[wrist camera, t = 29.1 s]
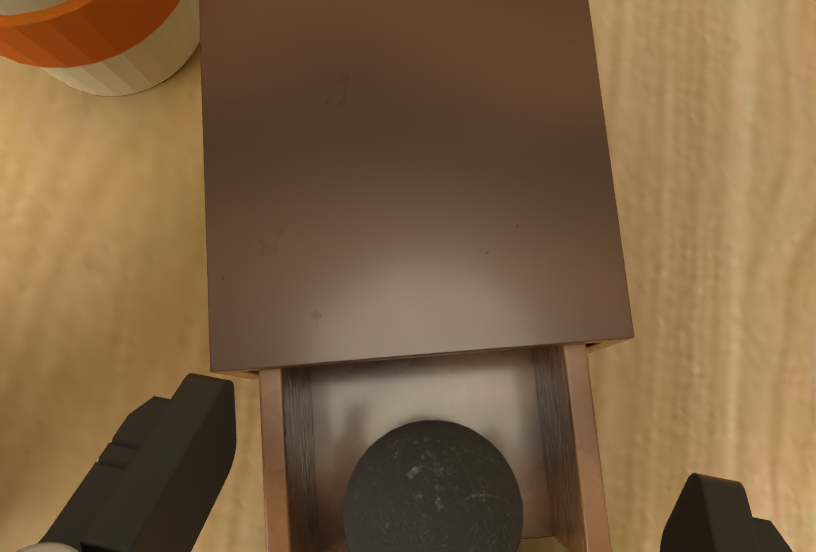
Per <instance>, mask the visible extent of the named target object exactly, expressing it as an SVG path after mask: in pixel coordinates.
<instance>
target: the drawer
mask: <svg viewBox="0 0 816 552" xmlns="http://www.w3.org/2000/svg"><path fill="white" fill-rule="evenodd" d="M259 389H260V412H261V436H262V459H263V482H264V506H265V529H266V552H351V551H350V549H349V546H348V543H347V540H346V534H345V530H344V522H343V511H344V499H345V494H346V489H347V486H348V481H349V479H350V477H351V474H352V472H353V470H354V468H355V466H356V464H357V463H358V461H359V459H360V458H361V456H362V455H363V454H364V453H365V451H366V450H367V449H368V448H369V447H370V446H371V445H372V444H373V443H374V442H375V441H376V440H378V439H379V438H380V437H382V436H383V435H385V434H386V433H388V432H389V431H391V430H393V429H395V428H398V427H400V426H403V425H405V424H407V423H412V422H417V421H422V420H443V421H449V422H454V423H457V424H460V425H463V426H465V427H468V428H470V429H472V430H474V431H476V432H477V433H479V434H480V435H482V436H483V437H485V438H486V439H488V440H489V441H490V442H491V443H492V444H493V445H494V446H495V447H496V448H497V449H498V450H499V451H500V452H501V453H502V455H503V456H504V458H505V459H506V461H507V462H508V464H509V466H510V467H511V469H512V471H513V473H514V476H515V478H516V480H517V483H518V485H519V489H520V494H521V498H522V501H523V528H522V534H521V539H529V538H541V537H554V538H555V539H557V540H558V541H559V542H560V543H561V544H562V545H563V546H564V547H565V548H566V549H567V550H568V551H569V552H612V550H611V542H610V534H609V526H608V518H607V510H606V502H605V494H604V486H603V478H602V470H601V462H600V454H599V445H598V437H597V429H596V421H595V413H594V405H593V397H592V389H591V381H590V373H589V365H588V357H587V349H586V344H575V345H563V346H551V347H538V348H526V349H514V350H502V351H489V352H477V353H465V354H453V355H440V356H428V357H416V358H404V359H391V360H379V361H367V362H355V363H342V364H330V365H318V366H306V367H293V368H281V369H269V370H259Z"/></svg>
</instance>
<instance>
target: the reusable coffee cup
mask: <svg viewBox="0 0 816 552" xmlns="http://www.w3.org/2000/svg"><path fill="white" fill-rule="evenodd" d="M199 42H200V20H199V0H0V55H2V56H4V57H6V58H9V59H11V60H14V61H16V62H18V63H23V64H28V65H33V66H37V67H38V68H40V69H42V70H43V71H45V72H46V73H48V74H50V75H51V76H53V77H55V78H56V79H58V80H60V81H61V82H63V83H64V84H66V85H68V86H70V87H72V88H75V89H77V90H79V91H82V92H85V93H89V94H94V95H99V96H122V95H128V94H133V93H138V92H141V91H143V90H146V89H149V88H151V87H154V86H156V85H157V84H159V83H161V82H163V81H164V80H166V79H168V78H169V77H171V76H172V75H173V74H174V73H175V72H176V71H178V70H179V69H180V68H181V67H182V66H183V65H184V64H185V63H186V61H187V60H188V59H189V58H190V56H191V55H192V54H193V53H194V51H195V49H196V47H197V45H198V43H199Z"/></svg>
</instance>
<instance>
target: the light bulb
mask: <svg viewBox="0 0 816 552" xmlns="http://www.w3.org/2000/svg"><path fill="white" fill-rule="evenodd" d="M343 522H344V530H345V534H346V540H347V543H348V546H349V549H350V551H351V552H516V551H517V549H518V546H519V543H520V540H521V534H522V528H523V501H522V498H521V494H520V489H519V485H518V483H517V480H516V478H515V476H514V473H513V471H512V469H511V467H510V466H509V464H508V462H507V461H506V459H505V458H504V456H503V455H502V453H501V452H500V451H499V450H498V449H497V448H496V447H495V446H494V445H493V444H492V443H491V442H490V441H489V440H488V439H486V438H485V437H483V436H482V435H480V434H479V433H477V432H476V431H474V430H472V429H470V428H468V427H465V426H463V425H460V424H457V423H454V422H449V421H443V420H422V421H417V422H412V423H407V424H405V425H403V426H400V427H398V428H395V429H393V430H391V431H389V432H388V433H386V434H385V435H383V436H382V437H380V438H379V439H378V440H376V441H375V442H374V443H373V444H372V445H371V446H370V447H369V448H368V449H367V450H366V451H365V453H364V454H363V455H362V456H361V458H360V459H359V461H358V463H357V464H356V466H355V468H354V470H353V472H352V474H351V477H350V479H349V481H348V486H347V489H346V494H345V499H344V511H343Z"/></svg>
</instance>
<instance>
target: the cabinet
mask: <svg viewBox="0 0 816 552" xmlns="http://www.w3.org/2000/svg"><path fill="white" fill-rule="evenodd" d="M199 20H200V52H201V84H202V117H203V149H204V181H205V214H206V246H207V278H208V311H209V343H210V371H211V372H212V373H217V374H224V375H230V376H236V377H242V378H247V379H253V380H259V370H269V369H281V368H293V367H306V366H318V365H330V364H342V363H355V362H367V361H379V360H391V359H404V358H416V357H428V356H440V355H453V354H465V353H477V352H489V351H502V350H514V349H526V348H538V347H551V346H563V345H575V344H586V349H587V353H589V352H592V351H596V350H599V349H602V348H605V347H608V346H611V345H614V344H617V343H620V342H623V341H626V340H629V339H632V338H634V331H633V323H632V316H631V309H630V301H629V294H628V287H627V279H626V272H625V265H624V257H623V250H622V243H621V236H620V228H619V221H618V214H617V206H616V199H615V192H614V184H613V177H612V170H611V162H610V155H609V148H608V140H607V133H606V126H605V118H604V111H603V104H602V96H601V89H600V82H599V74H598V67H597V60H596V52H595V45H594V38H593V30H592V23H591V16H590V8H589V1H588V0H199Z"/></svg>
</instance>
